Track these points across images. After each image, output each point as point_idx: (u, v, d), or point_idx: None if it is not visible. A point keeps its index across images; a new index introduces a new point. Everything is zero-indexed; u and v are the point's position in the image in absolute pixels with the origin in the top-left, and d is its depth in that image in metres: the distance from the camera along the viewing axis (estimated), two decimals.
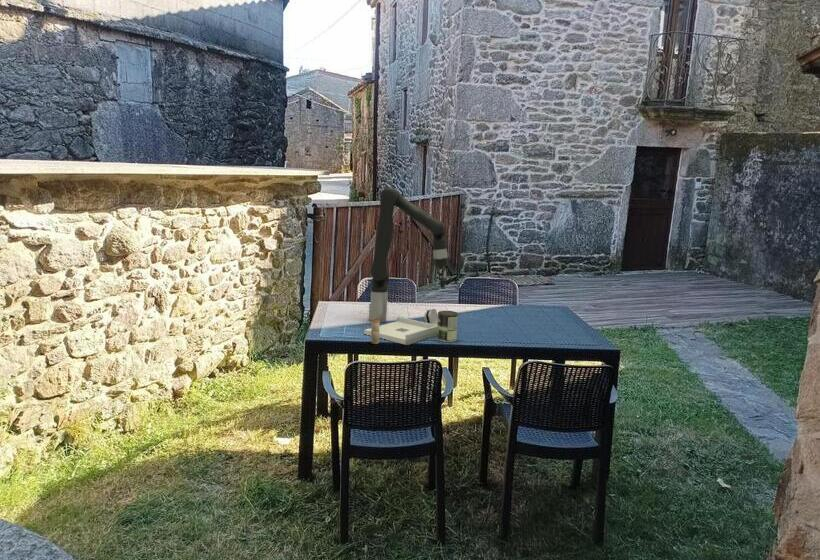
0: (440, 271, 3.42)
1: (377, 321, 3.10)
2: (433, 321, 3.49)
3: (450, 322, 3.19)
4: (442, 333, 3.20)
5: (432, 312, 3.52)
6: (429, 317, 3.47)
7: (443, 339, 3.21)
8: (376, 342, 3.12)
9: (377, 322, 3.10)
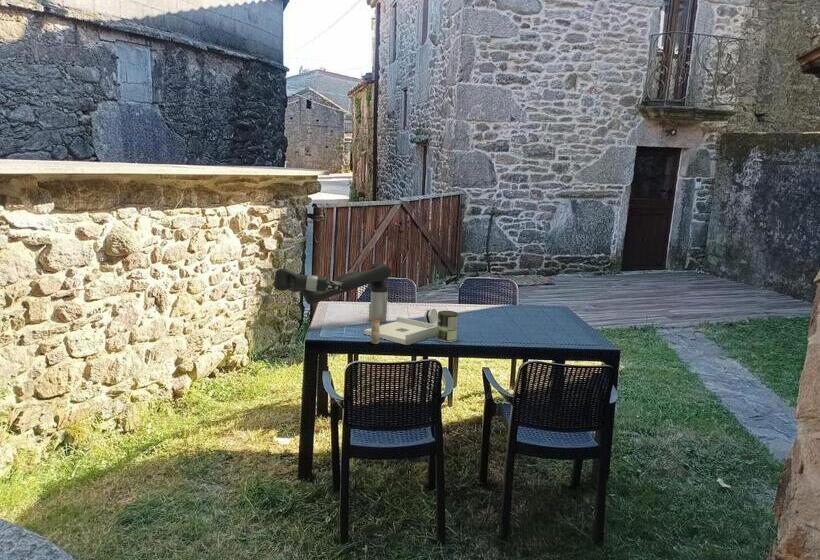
0: (329, 286, 3.00)
1: (377, 321, 3.10)
2: (433, 321, 3.49)
3: (450, 322, 3.19)
4: (442, 333, 3.20)
5: (432, 312, 3.52)
6: (429, 317, 3.47)
7: (443, 339, 3.21)
8: (376, 342, 3.12)
9: (377, 322, 3.10)
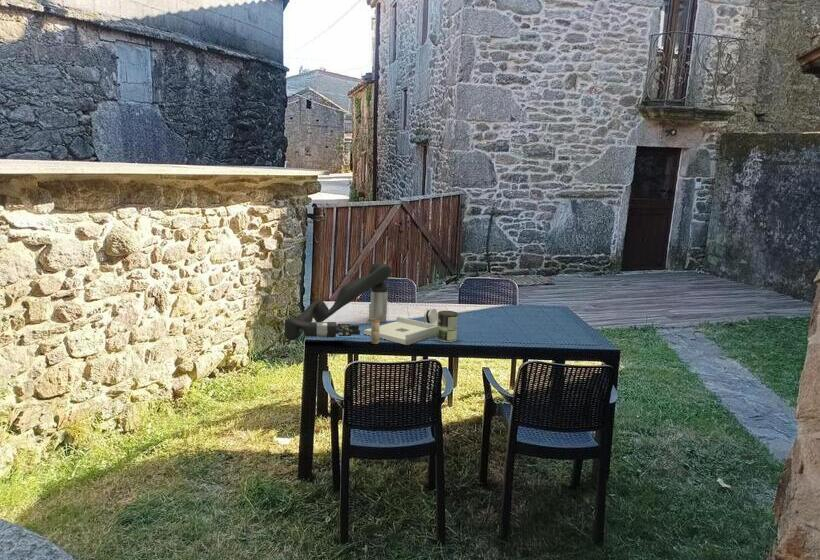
0: (340, 333, 3.03)
1: (377, 321, 3.10)
2: (433, 321, 3.50)
3: (450, 322, 3.19)
4: (442, 333, 3.20)
5: (432, 312, 3.52)
6: (429, 317, 3.47)
7: (443, 339, 3.21)
8: (376, 342, 3.12)
9: (377, 322, 3.10)
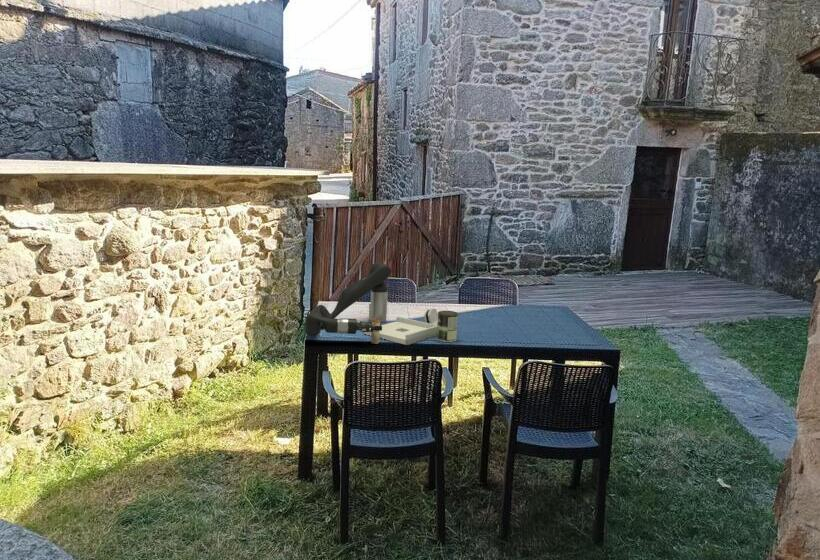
0: (364, 329, 3.05)
1: (377, 321, 3.10)
2: (433, 321, 3.50)
3: (450, 322, 3.19)
4: (442, 333, 3.20)
5: (432, 312, 3.53)
6: (429, 317, 3.47)
7: (443, 339, 3.21)
8: (376, 342, 3.12)
9: (377, 322, 3.10)
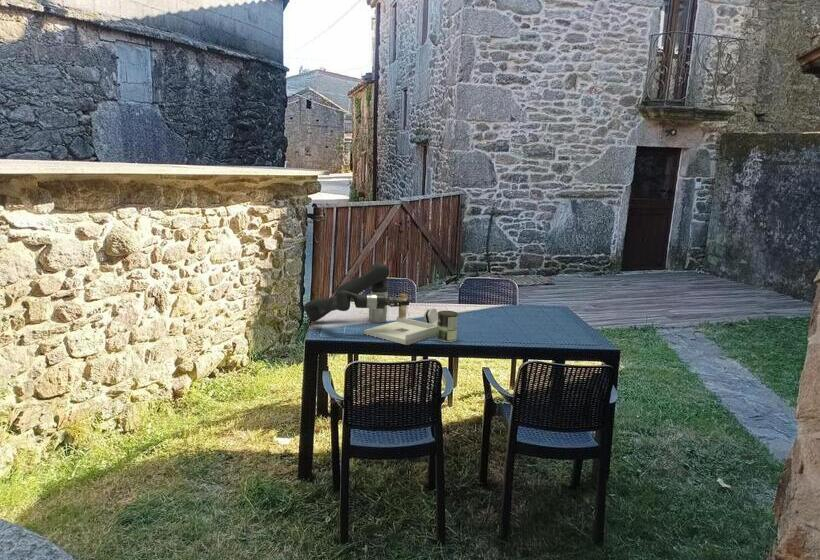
0: (392, 304, 3.20)
1: (405, 296, 3.25)
2: (433, 321, 3.50)
3: (450, 322, 3.19)
4: (442, 333, 3.20)
5: (432, 311, 3.53)
6: (428, 317, 3.48)
7: (443, 339, 3.21)
8: (403, 316, 3.27)
9: (405, 297, 3.25)
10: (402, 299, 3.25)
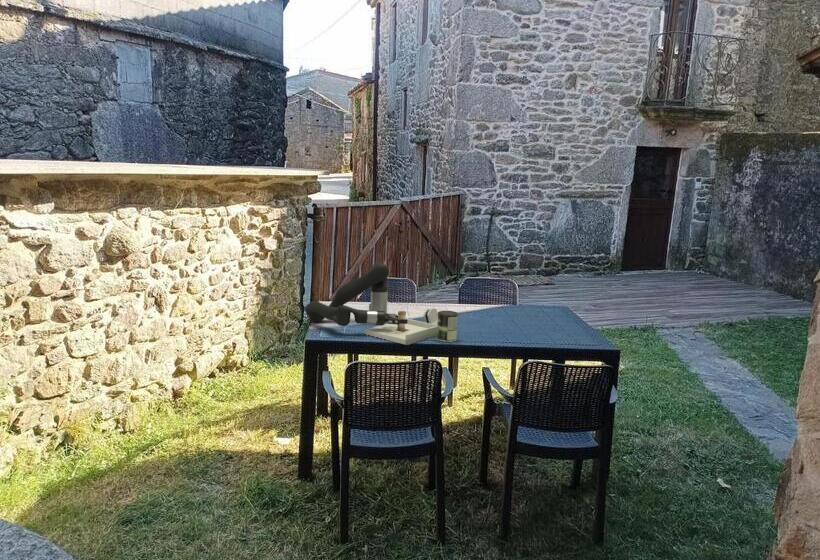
0: (390, 321, 3.22)
1: (403, 314, 3.28)
2: (432, 320, 3.50)
3: (450, 322, 3.19)
4: (442, 333, 3.20)
5: (432, 311, 3.53)
6: (428, 316, 3.48)
7: (443, 339, 3.21)
8: None
9: (403, 315, 3.28)
10: (401, 316, 3.28)
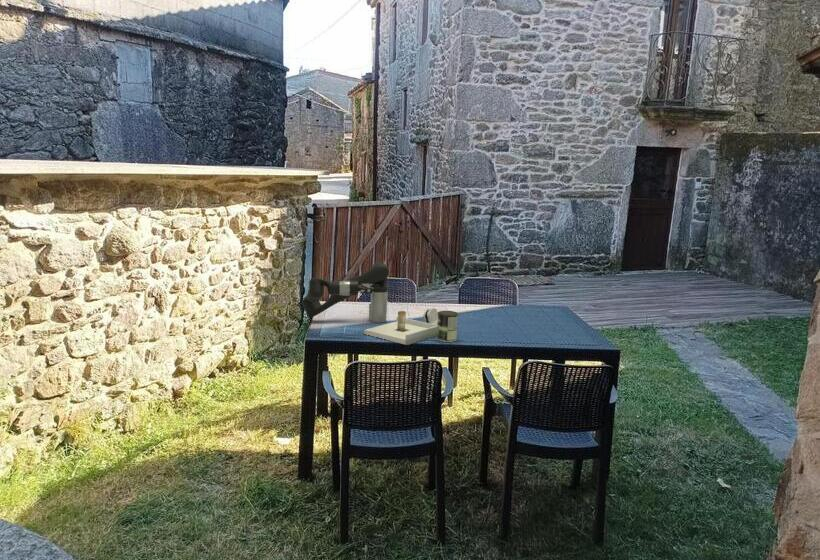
0: (362, 291, 3.16)
1: (403, 314, 3.28)
2: (432, 320, 3.51)
3: (450, 322, 3.19)
4: (442, 333, 3.20)
5: (431, 311, 3.53)
6: (428, 316, 3.48)
7: (443, 339, 3.21)
8: None
9: (403, 315, 3.28)
10: (401, 316, 3.28)
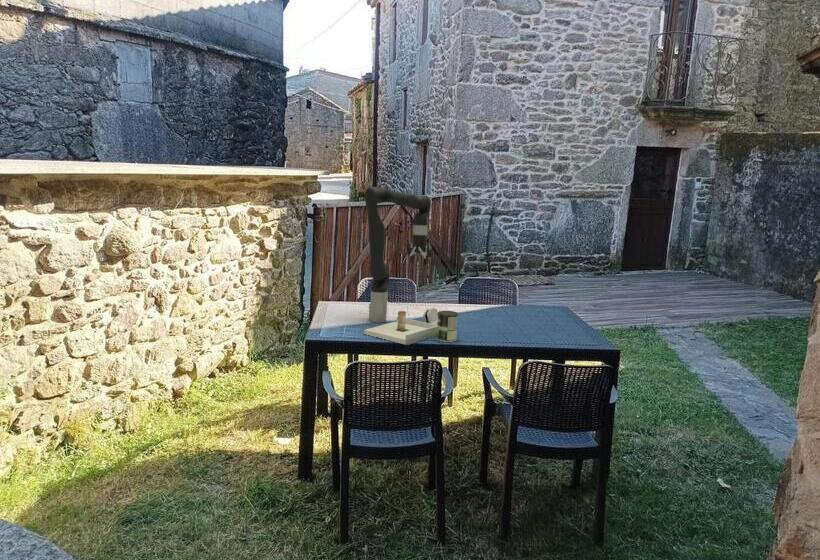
0: (429, 248, 3.29)
1: (403, 314, 3.28)
2: (432, 320, 3.51)
3: (450, 322, 3.19)
4: (442, 333, 3.20)
5: (432, 311, 3.54)
6: (428, 316, 3.49)
7: (443, 339, 3.21)
8: None
9: (403, 315, 3.28)
10: (401, 316, 3.28)
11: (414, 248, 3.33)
